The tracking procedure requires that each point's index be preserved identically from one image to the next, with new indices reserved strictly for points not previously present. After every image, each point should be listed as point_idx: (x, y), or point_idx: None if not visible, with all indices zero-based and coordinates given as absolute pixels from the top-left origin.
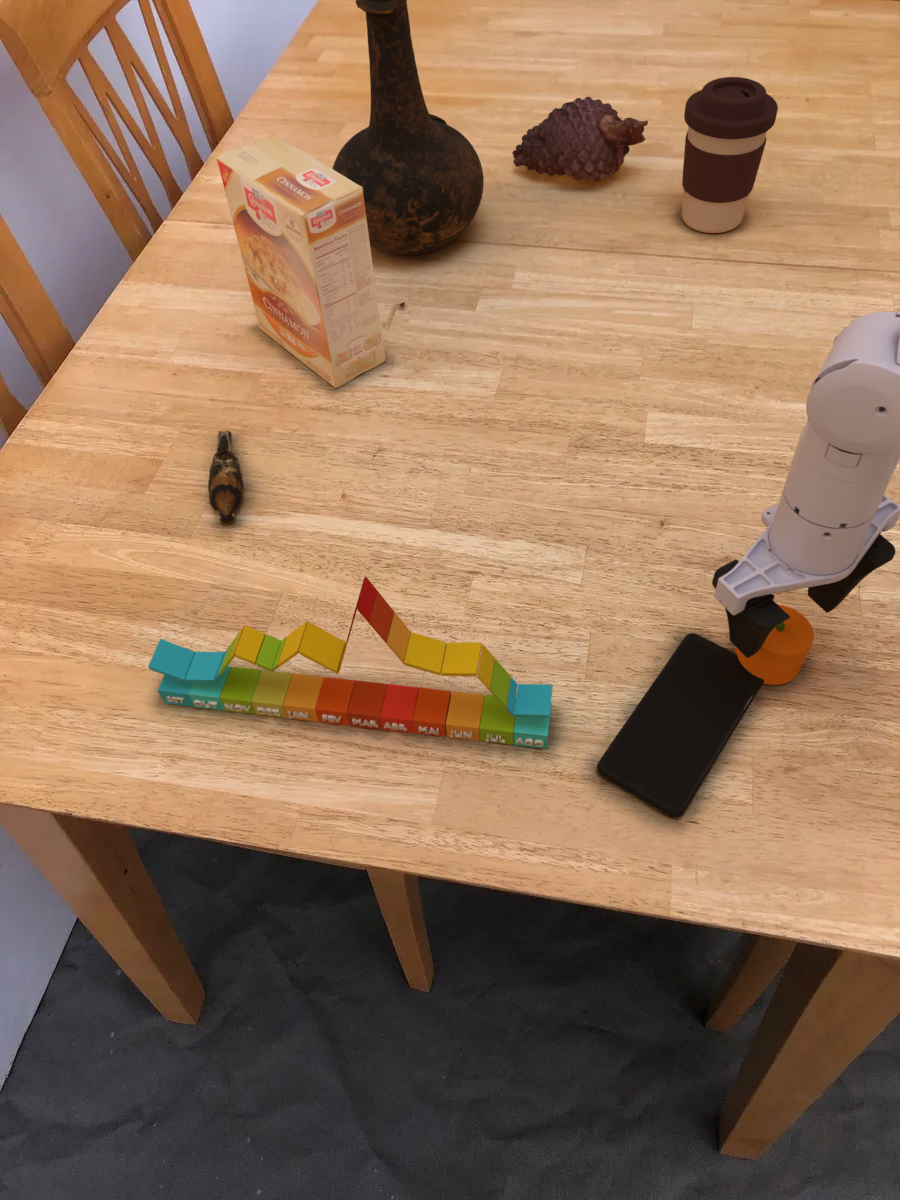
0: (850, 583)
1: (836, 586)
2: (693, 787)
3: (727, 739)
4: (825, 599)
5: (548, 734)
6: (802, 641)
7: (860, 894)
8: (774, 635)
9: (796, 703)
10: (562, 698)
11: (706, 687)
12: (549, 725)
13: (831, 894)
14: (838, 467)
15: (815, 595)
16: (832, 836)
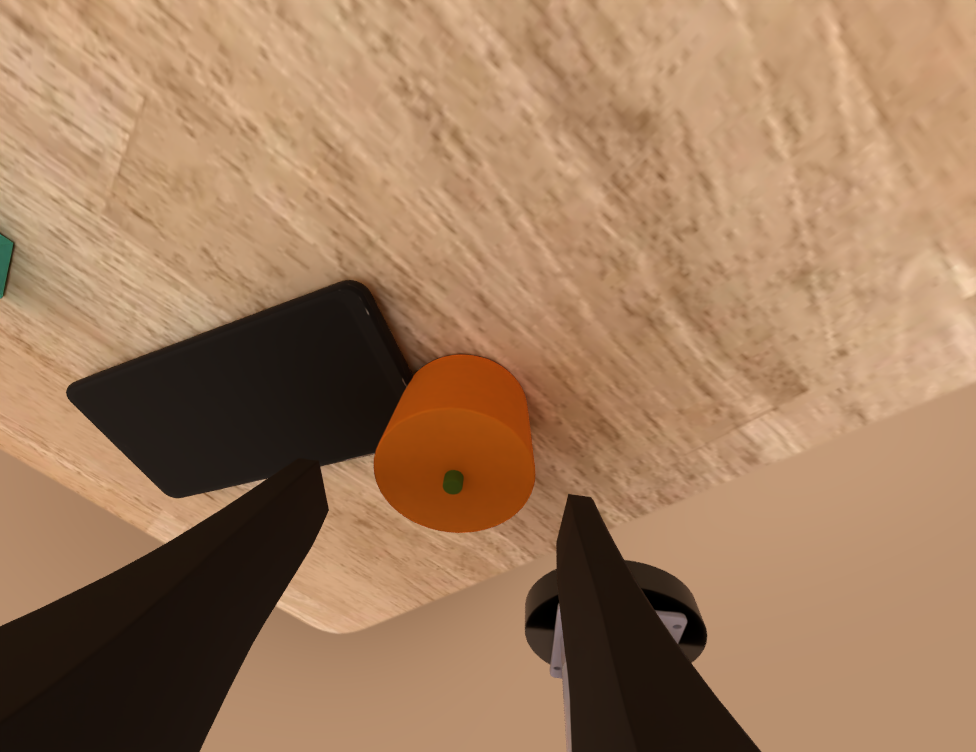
0: (572, 735)
1: (571, 648)
2: (206, 489)
3: None
4: (561, 566)
5: (3, 277)
6: (469, 519)
7: (340, 615)
8: (427, 482)
9: None
10: (45, 223)
11: (308, 399)
12: (4, 264)
13: (314, 602)
14: None
15: (567, 527)
16: (354, 582)
